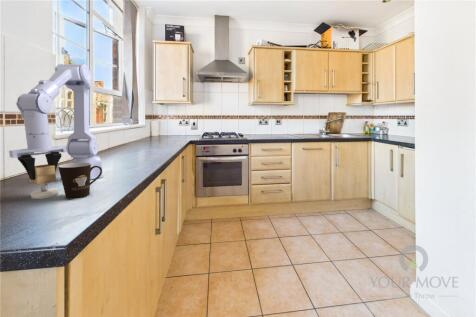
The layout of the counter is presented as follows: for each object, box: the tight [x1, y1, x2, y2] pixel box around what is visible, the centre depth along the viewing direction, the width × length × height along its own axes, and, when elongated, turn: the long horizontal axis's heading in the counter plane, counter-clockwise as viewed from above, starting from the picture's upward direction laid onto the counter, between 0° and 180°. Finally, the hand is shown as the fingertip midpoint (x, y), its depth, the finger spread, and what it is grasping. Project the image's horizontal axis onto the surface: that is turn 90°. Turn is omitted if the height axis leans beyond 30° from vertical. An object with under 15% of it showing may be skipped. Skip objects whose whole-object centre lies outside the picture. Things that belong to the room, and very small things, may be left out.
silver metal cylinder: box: [39, 183, 49, 192], centre depth 82 cm, size 2×2×6 cm
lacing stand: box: [30, 187, 59, 200], centre depth 82 cm, size 7×7×2 cm
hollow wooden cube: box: [28, 163, 57, 185], centre depth 81 cm, size 5×5×5 cm
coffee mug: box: [57, 162, 103, 200], centre depth 82 cm, size 12×9×10 cm
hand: (43, 177), depth 81 cm, fingers closed on hollow wooden cube, 5 cm apart
